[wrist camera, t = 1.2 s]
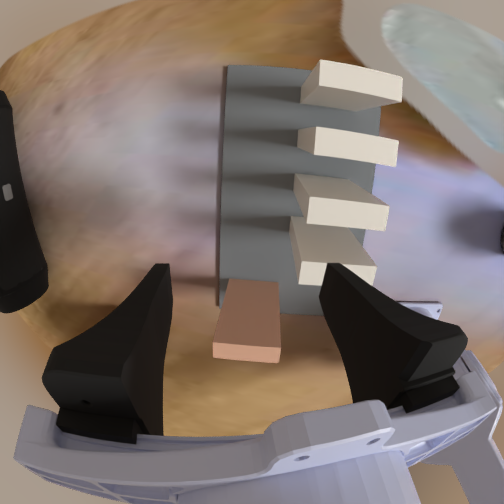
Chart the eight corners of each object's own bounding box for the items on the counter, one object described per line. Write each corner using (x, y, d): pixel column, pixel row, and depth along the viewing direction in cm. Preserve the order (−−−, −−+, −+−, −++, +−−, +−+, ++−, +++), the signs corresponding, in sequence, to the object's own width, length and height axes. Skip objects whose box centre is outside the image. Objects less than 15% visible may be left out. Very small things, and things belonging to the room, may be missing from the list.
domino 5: (340, 236, 27) (371, 288, 18) (289, 232, 27) (298, 284, 18) (342, 220, 27) (377, 266, 18) (290, 215, 27) (301, 261, 18)
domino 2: (354, 111, 23) (401, 102, 13) (300, 103, 23) (318, 85, 14) (355, 95, 22) (402, 77, 13) (301, 86, 22) (320, 59, 13)
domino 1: (276, 295, 30) (278, 363, 21) (229, 291, 30) (213, 357, 21) (278, 282, 30) (281, 347, 20) (229, 278, 30) (212, 342, 21)
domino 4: (346, 196, 26) (384, 231, 17) (293, 190, 26) (306, 223, 17) (348, 179, 25) (389, 206, 16) (294, 173, 25) (309, 196, 16)
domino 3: (351, 153, 24) (395, 167, 15) (297, 147, 24) (313, 154, 15) (352, 136, 24) (398, 140, 14) (298, 129, 24) (316, 126, 15)
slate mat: (345, 314, 31) (345, 316, 31) (220, 306, 32) (219, 308, 31) (380, 84, 22) (382, 83, 21) (228, 66, 22) (227, 65, 22)
